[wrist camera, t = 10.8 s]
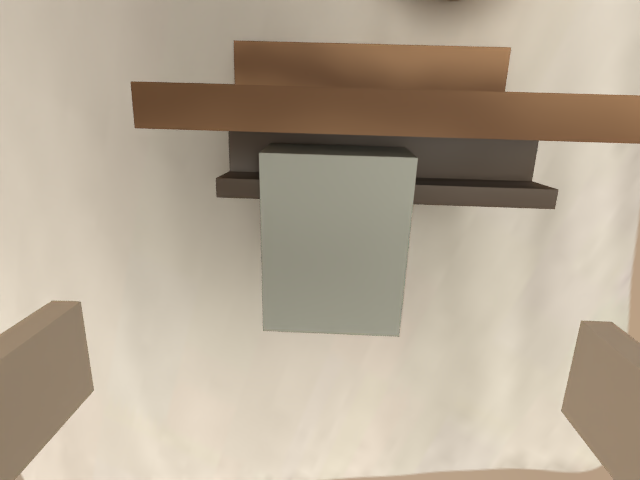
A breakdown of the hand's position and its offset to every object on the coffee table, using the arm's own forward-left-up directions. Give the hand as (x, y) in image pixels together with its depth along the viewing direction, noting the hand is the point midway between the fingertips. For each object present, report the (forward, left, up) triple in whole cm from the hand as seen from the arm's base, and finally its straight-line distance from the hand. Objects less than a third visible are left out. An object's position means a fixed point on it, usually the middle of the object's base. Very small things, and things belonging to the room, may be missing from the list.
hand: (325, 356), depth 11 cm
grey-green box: (0, 0, -16) cm, 16 cm away
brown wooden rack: (-6, +2, -21) cm, 22 cm away
